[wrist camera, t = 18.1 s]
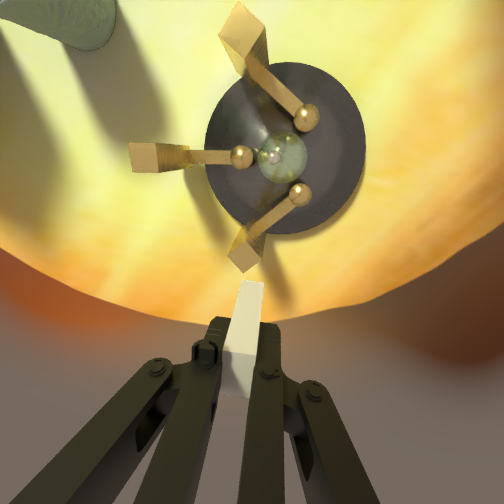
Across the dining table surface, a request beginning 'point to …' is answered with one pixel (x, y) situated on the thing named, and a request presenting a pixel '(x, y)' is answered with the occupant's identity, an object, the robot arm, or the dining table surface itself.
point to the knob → (183, 157)
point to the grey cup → (65, 19)
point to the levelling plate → (287, 148)
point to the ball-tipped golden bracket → (264, 228)
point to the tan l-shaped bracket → (261, 64)
